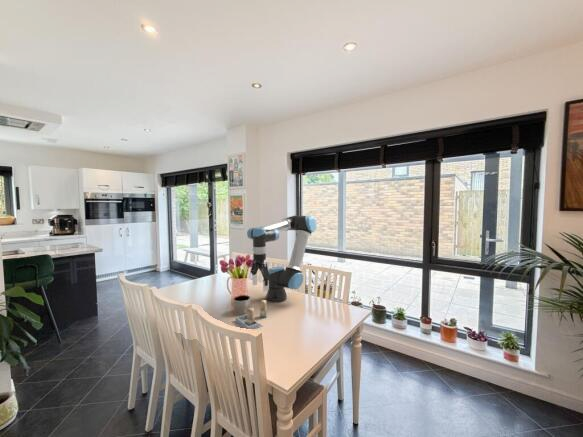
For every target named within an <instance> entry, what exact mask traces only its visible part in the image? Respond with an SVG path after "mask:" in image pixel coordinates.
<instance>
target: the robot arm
mask: <svg viewBox="0 0 583 437" xmlns="http://www.w3.org/2000/svg"><path fill="white" fill-rule="evenodd" d="M316 230H317V222H316V218H315V217H314V216H313V215H296V214H295V215H291V216H288V217H285V218H282V219H281V220H280V221H276V222H272V223H269V224H266V225H262V226H258V227H250V228H248V230H247V232H246V236H247V238H248V239H250V240H252V253H253V254H252V255H253V259H252V264H251V268H250V273H251V275H252V286H257V285H258V271H260V273H261V275H262V278H263V280H262V282H263V283H262V286H263V288H262V289H263V290H262V291H263V292H266V296H265V299H266V301H268V302H271V303H272V302H273V303H280V302H284V301H286V300H287V299H288V296H287V293H286V288H287V289H290V290H298V289H299V288H300V287H302V284H303V283H304V275H303V271H302V269H301V268H302V263H303V260H304V255H305V252H306V247H307V244H308V241H309V240H308V239H309V237H310V236H312V233H313V232H314V233H315V231H316ZM288 231H295V233H296V237H295V241H294V245H293V248H292V252H291V256H290V260H289V264H288V265H287V266H286V267H284V266H273V267H270V268H269V267H268V263H267V262H265V260H266V259H267V253H266V251H267V248H266V246H267V245H266V243H269V242H275V241H278V240H279V238H280V232H281V233H282V232H288Z"/></svg>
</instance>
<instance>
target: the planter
mask: <svg viewBox="0 0 583 437" xmlns="http://www.w3.org/2000/svg"><path fill="white" fill-rule="evenodd" d="M232 300H233V302H232V303H233V306H232V308H233V314H234V316H235V315H236V316H242V315H245V314H247V309H248V308H252V307H251V296H250V295H246V294H245V295H244V294H242V295H241V294H240V295H236V296H234V297H233V299H232Z"/></svg>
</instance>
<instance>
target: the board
mask: <svg viewBox="0 0 583 437" xmlns="http://www.w3.org/2000/svg"><path fill="white" fill-rule="evenodd" d="M232 323H233V324H234V325H235V326H236V327H237V328H238V327H240V328H246V329H254V330H257V329H260V328H262V327H264V325H262V324H261V323H260V322H259V321H257V320H256V319H255V318H254V325H251V326H247V314H245V315H237V316H236V317H235V320H234V321H232Z"/></svg>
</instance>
